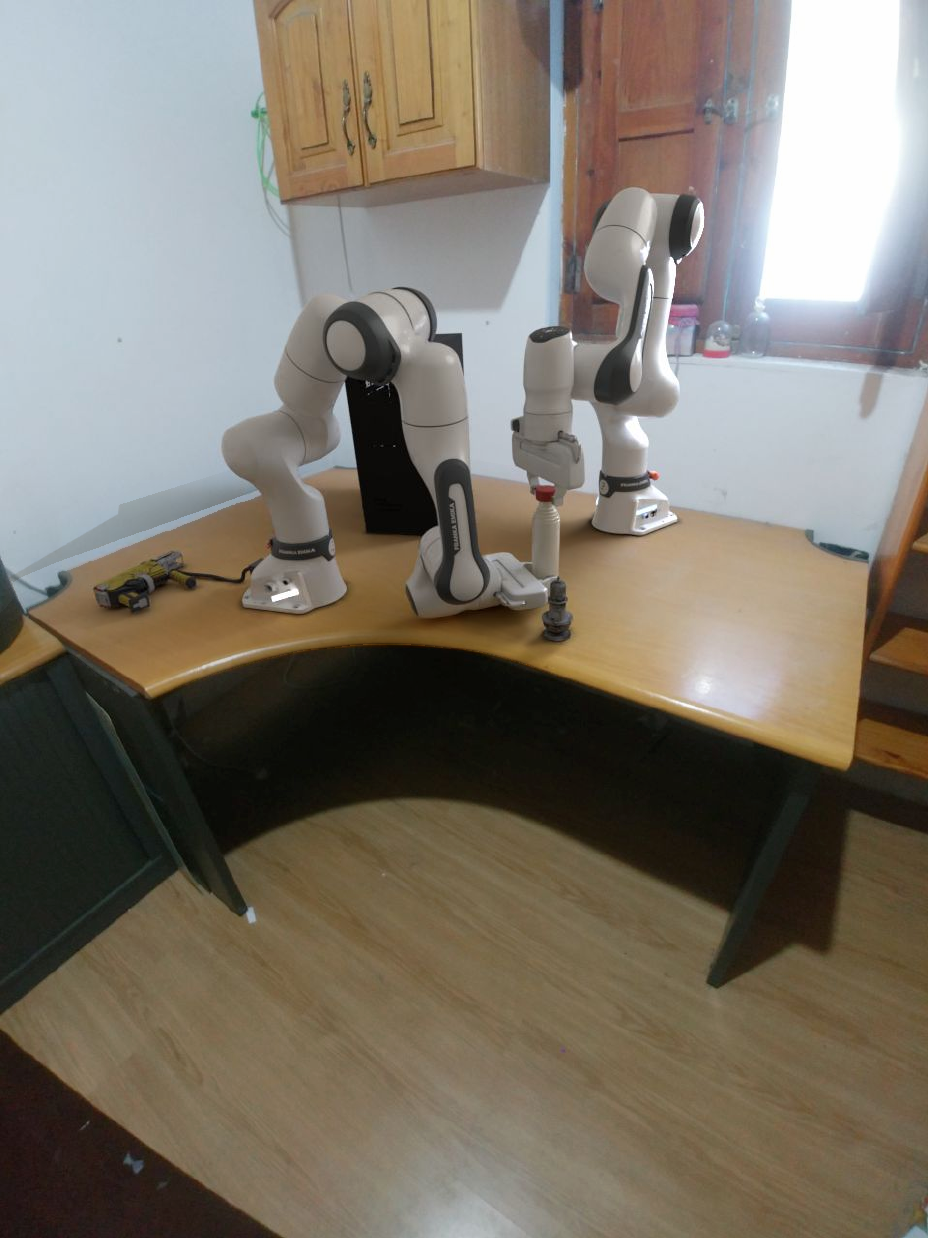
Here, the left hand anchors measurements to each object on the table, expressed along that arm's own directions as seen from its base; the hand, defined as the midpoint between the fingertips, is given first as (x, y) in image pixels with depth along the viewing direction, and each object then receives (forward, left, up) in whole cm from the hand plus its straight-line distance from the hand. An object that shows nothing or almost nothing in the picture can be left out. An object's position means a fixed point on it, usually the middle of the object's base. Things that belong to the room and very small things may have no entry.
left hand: (548, 572), depth 125 cm
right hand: (-1, 0, +16) cm, 16 cm away
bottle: (-1, 0, -5) cm, 5 cm away
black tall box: (-37, +52, -5) cm, 64 cm away
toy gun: (-88, +1, -5) cm, 88 cm away
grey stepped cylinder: (+1, -16, -5) cm, 17 cm away
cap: (-1, 0, +18) cm, 18 cm away
